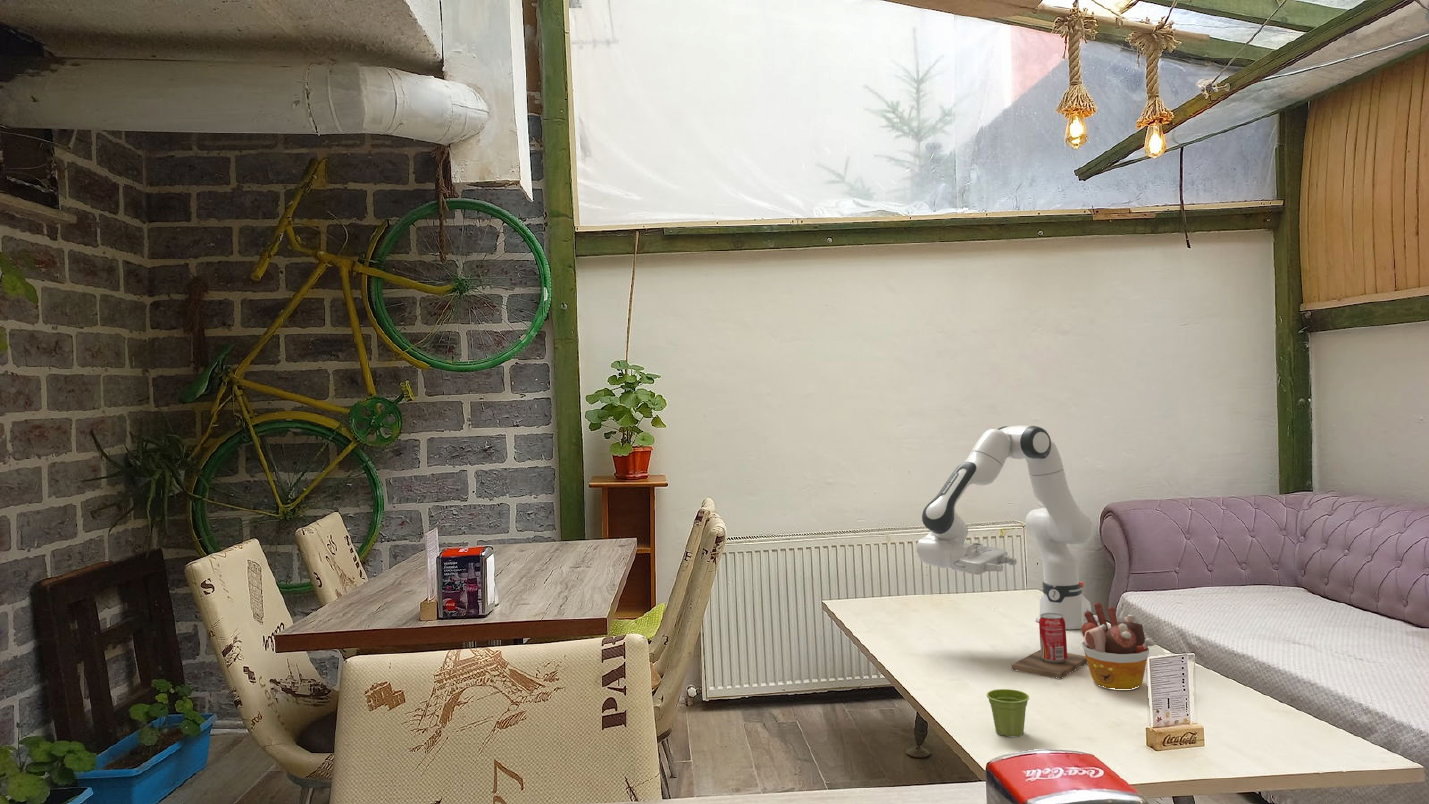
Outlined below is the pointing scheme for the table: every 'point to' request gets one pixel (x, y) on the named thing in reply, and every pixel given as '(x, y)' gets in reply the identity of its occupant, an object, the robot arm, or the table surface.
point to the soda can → (1053, 638)
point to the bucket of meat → (1115, 650)
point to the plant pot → (1008, 710)
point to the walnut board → (1049, 665)
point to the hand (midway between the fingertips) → (1009, 565)
